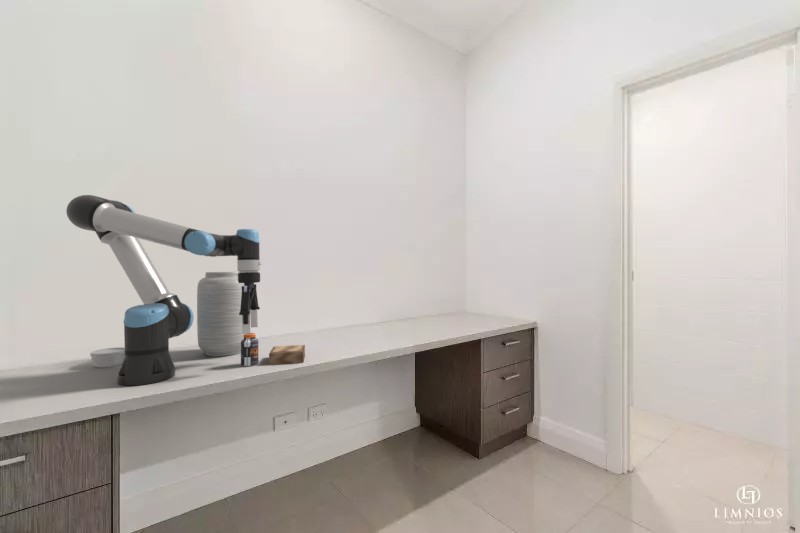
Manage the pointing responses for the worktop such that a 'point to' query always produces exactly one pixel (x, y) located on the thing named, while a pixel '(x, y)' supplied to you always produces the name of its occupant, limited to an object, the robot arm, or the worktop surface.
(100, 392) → the worktop surface
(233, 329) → the vase
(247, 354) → the pill bottle
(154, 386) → the worktop surface
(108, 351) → the ramekin
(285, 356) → the plinth
